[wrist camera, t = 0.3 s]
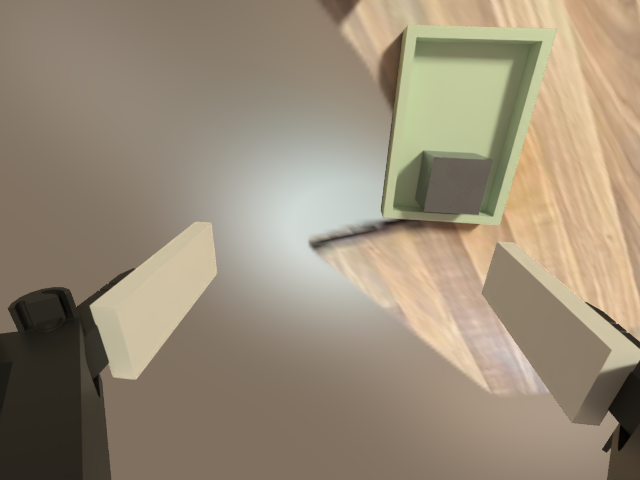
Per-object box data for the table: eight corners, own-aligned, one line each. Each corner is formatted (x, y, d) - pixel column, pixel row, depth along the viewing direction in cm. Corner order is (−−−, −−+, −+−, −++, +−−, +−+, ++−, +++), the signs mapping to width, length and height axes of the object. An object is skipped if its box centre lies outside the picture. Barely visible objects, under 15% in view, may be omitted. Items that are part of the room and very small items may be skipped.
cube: (423, 150, 37) (433, 156, 32) (474, 153, 37) (492, 160, 32) (415, 199, 39) (423, 211, 35) (463, 202, 39) (478, 214, 34)
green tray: (402, 31, 33) (407, 24, 30) (539, 35, 32) (557, 28, 29) (380, 210, 41) (383, 217, 38) (489, 217, 40) (499, 225, 38)
